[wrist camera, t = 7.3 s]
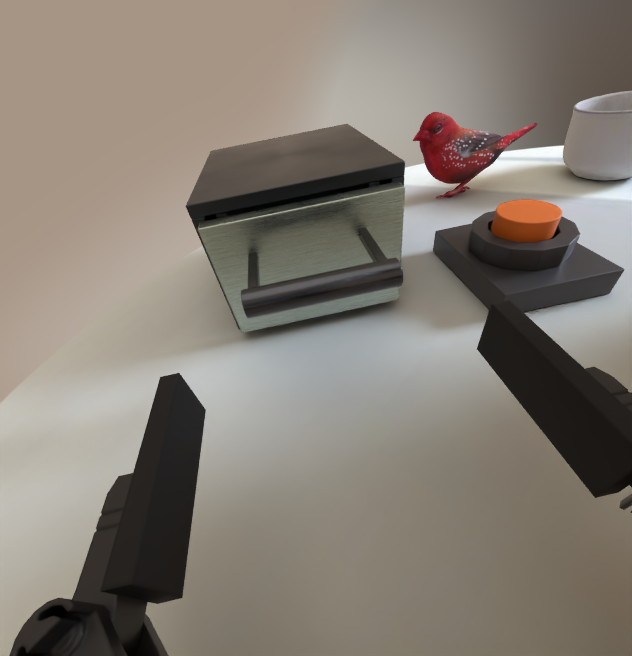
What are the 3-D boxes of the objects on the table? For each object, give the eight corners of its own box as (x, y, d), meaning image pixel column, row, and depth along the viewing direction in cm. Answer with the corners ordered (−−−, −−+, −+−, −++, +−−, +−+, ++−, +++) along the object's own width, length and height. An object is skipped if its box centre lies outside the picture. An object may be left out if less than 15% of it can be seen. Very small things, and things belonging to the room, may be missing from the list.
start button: (567, 237, 23) (577, 215, 22) (512, 249, 23) (519, 227, 22) (528, 216, 26) (535, 195, 25) (480, 226, 26) (484, 206, 25)
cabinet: (398, 295, 27) (405, 161, 19) (238, 329, 26) (185, 205, 19) (353, 224, 38) (347, 123, 31) (242, 247, 38) (210, 150, 31)
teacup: (633, 195, 34) (682, 107, 28) (533, 177, 41) (557, 105, 35) (686, 160, 38) (737, 79, 33) (588, 150, 45) (616, 82, 40)
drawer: (431, 352, 20) (453, 225, 14) (239, 394, 20) (179, 283, 14) (354, 227, 35) (349, 140, 29) (244, 250, 35) (217, 167, 29)
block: (609, 293, 23) (640, 246, 20) (496, 318, 23) (512, 273, 20) (516, 233, 31) (529, 193, 29) (432, 250, 31) (437, 212, 28)
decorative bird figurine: (402, 205, 40) (407, 115, 34) (513, 173, 43) (538, 84, 36) (414, 212, 38) (421, 118, 31) (530, 178, 41) (560, 84, 34)
